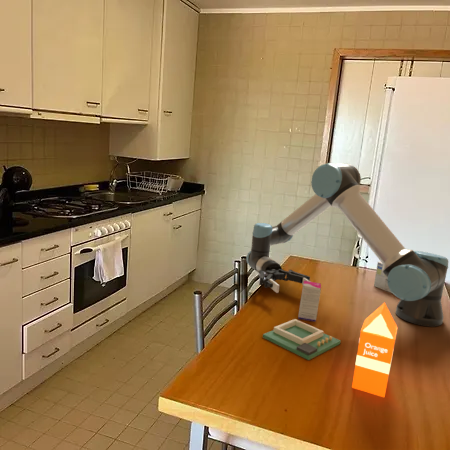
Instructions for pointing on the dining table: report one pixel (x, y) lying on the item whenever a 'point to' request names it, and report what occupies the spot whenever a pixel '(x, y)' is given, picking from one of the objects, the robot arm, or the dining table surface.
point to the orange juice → (375, 352)
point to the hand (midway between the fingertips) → (295, 288)
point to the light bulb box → (381, 278)
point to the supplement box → (309, 301)
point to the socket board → (301, 339)
